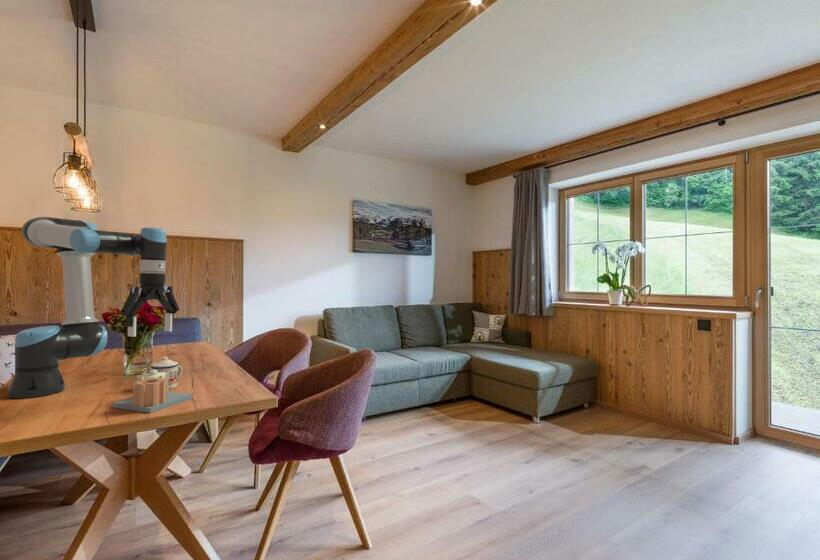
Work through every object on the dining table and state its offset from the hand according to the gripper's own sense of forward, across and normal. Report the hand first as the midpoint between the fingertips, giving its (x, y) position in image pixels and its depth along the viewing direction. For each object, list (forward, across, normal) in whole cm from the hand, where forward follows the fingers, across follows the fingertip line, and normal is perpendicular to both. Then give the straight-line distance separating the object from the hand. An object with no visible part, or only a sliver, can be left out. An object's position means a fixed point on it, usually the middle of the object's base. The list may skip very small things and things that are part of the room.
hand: (150, 333), depth 140 cm
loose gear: (+21, -7, -9) cm, 24 cm away
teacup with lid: (+23, +14, +8) cm, 28 cm away
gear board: (+22, -3, -6) cm, 23 cm away
